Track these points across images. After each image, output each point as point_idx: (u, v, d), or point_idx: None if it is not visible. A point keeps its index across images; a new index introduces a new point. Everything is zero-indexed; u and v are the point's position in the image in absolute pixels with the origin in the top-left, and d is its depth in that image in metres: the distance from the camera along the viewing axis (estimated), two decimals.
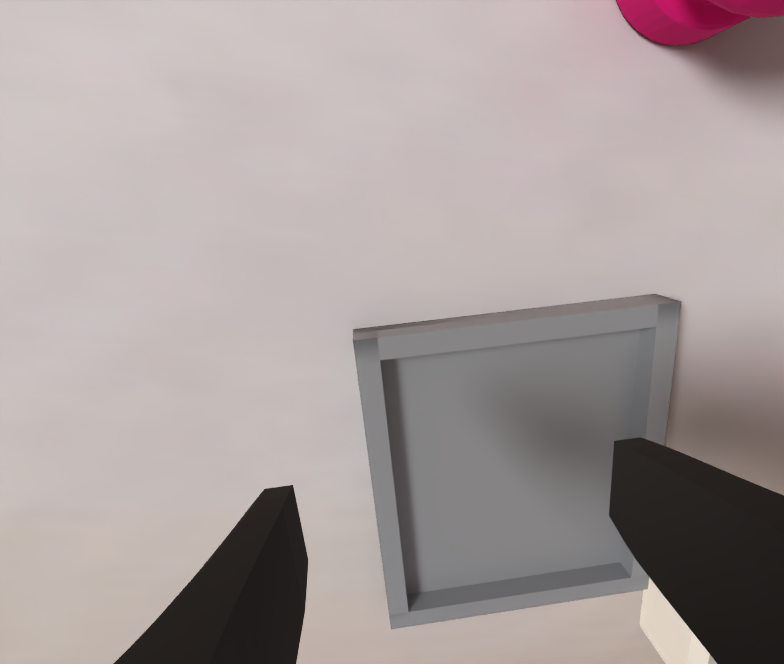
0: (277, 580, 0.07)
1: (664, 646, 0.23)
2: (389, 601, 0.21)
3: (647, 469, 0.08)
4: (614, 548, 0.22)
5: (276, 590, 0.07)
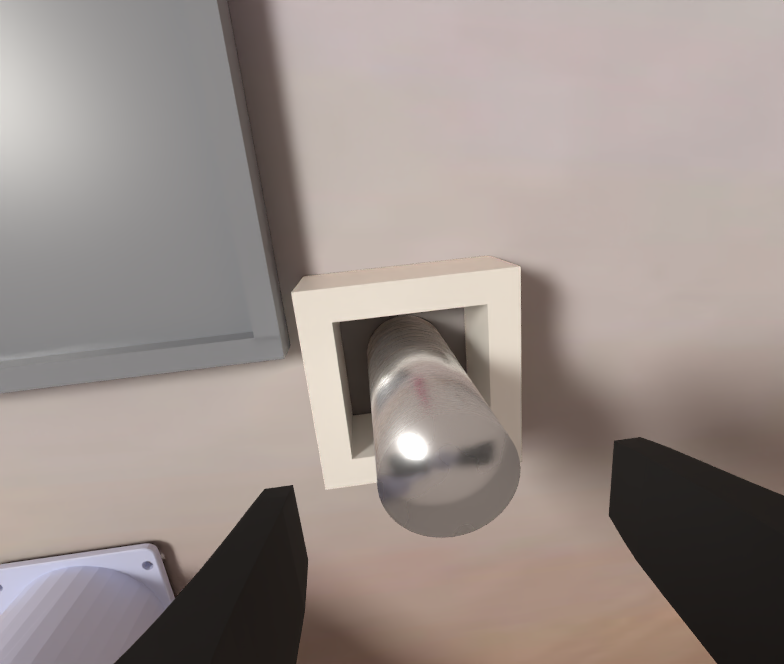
0: (277, 580, 0.07)
1: None
2: None
3: (647, 469, 0.08)
4: (245, 307, 0.17)
5: (276, 590, 0.07)
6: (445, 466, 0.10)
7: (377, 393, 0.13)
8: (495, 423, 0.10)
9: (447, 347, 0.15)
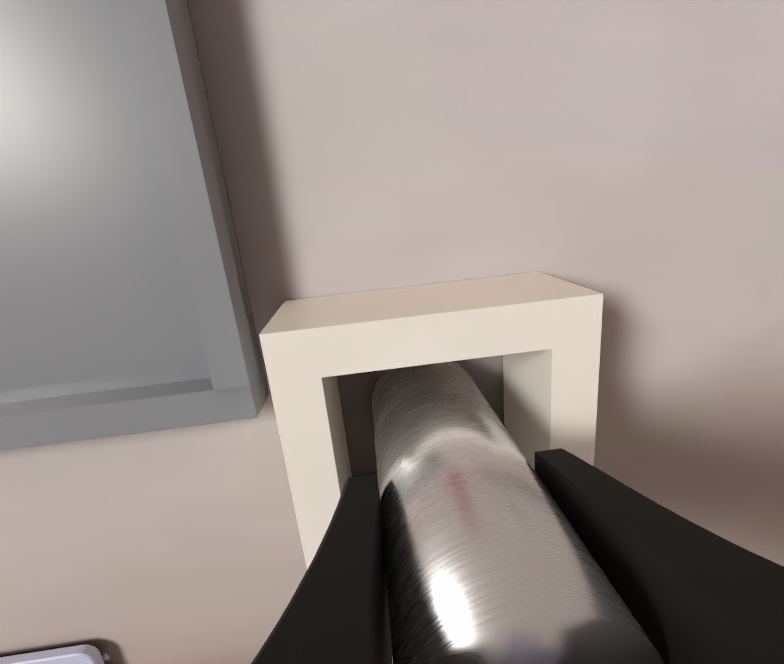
0: (380, 565, 0.07)
1: None
2: None
3: (557, 482, 0.08)
4: None
5: (381, 574, 0.07)
6: None
7: (391, 499, 0.08)
8: (629, 623, 0.05)
9: (489, 407, 0.11)
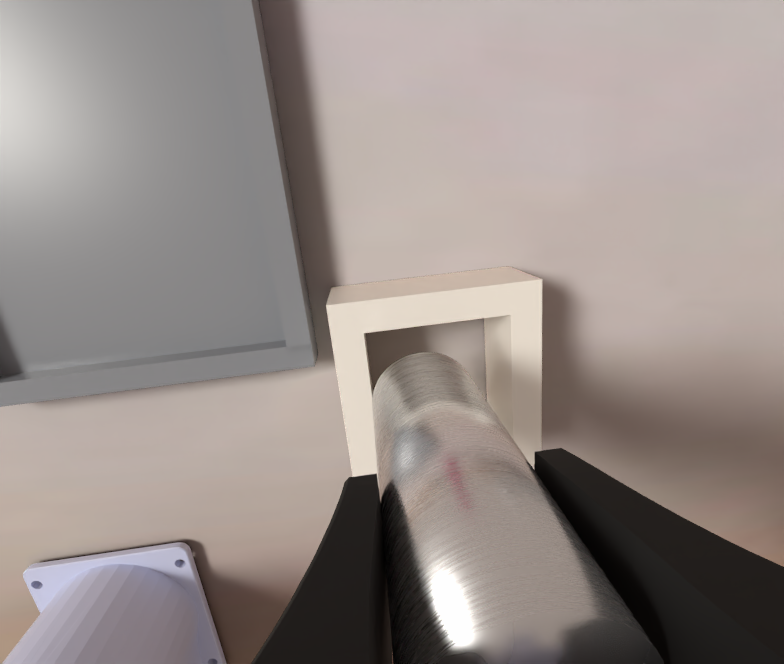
0: (380, 564, 0.07)
1: None
2: None
3: (557, 482, 0.08)
4: (277, 318, 0.17)
5: (381, 574, 0.07)
6: None
7: (391, 500, 0.08)
8: (629, 623, 0.05)
9: (489, 407, 0.11)
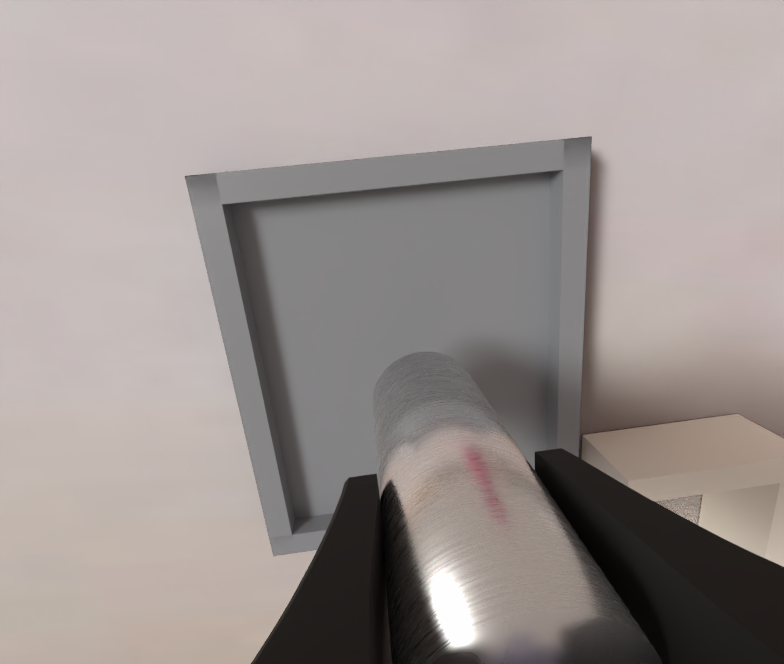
0: (380, 564, 0.07)
1: None
2: (267, 521, 0.18)
3: (558, 482, 0.08)
4: None
5: (381, 574, 0.07)
6: None
7: (390, 500, 0.08)
8: (626, 621, 0.05)
9: (488, 406, 0.11)
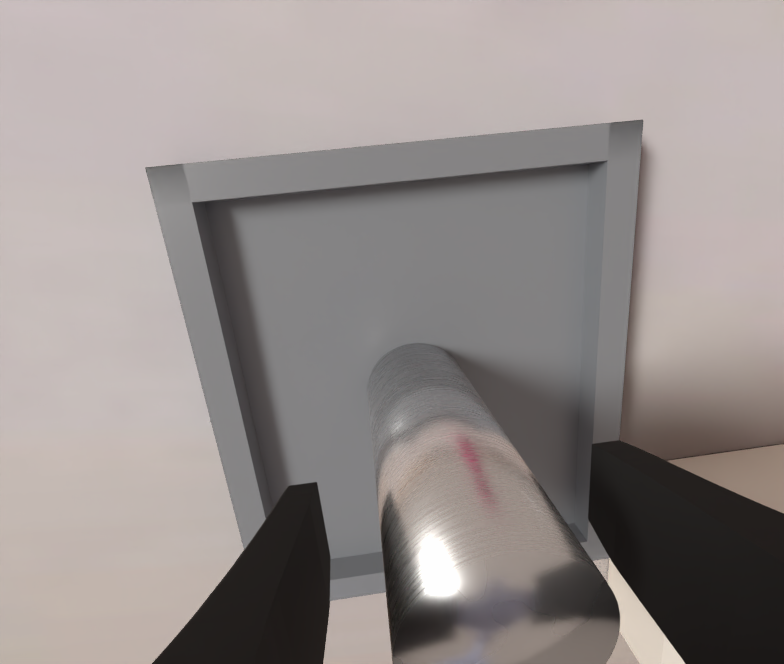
0: (306, 576, 0.07)
1: (634, 635, 0.17)
2: None
3: (622, 472, 0.08)
4: (566, 504, 0.17)
5: (306, 586, 0.07)
6: (502, 631, 0.06)
7: (385, 473, 0.09)
8: (584, 562, 0.06)
9: (474, 391, 0.12)
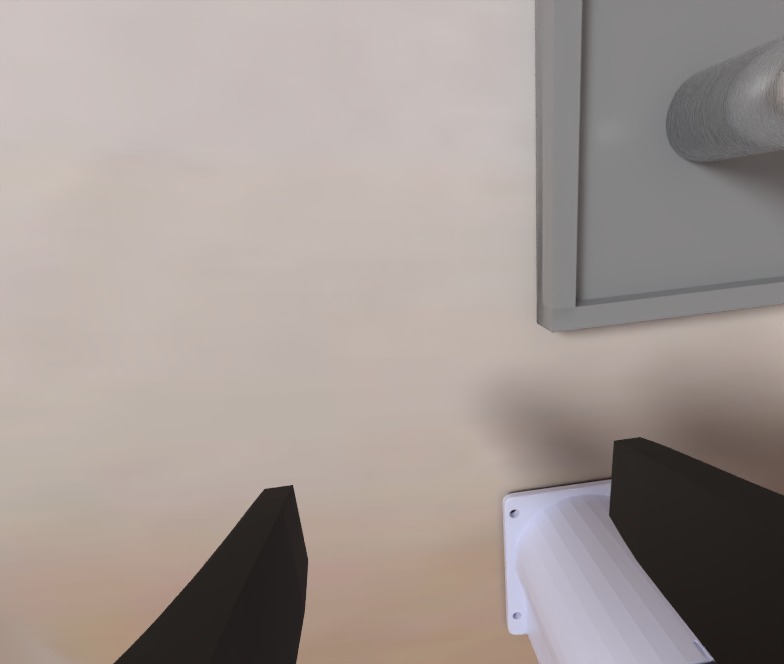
0: (277, 580, 0.07)
1: None
2: (554, 288, 0.17)
3: (647, 469, 0.08)
4: None
5: (276, 590, 0.07)
6: None
7: None
8: None
9: None
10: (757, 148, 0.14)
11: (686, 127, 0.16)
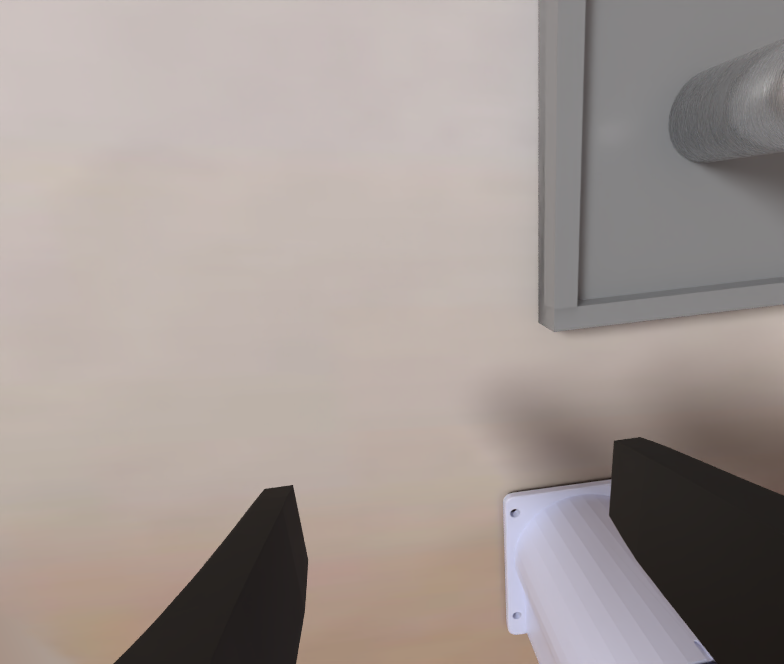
0: (277, 580, 0.07)
1: None
2: (556, 288, 0.17)
3: (647, 469, 0.08)
4: None
5: (276, 590, 0.07)
6: None
7: None
8: None
9: None
10: (759, 149, 0.14)
11: (688, 127, 0.16)
